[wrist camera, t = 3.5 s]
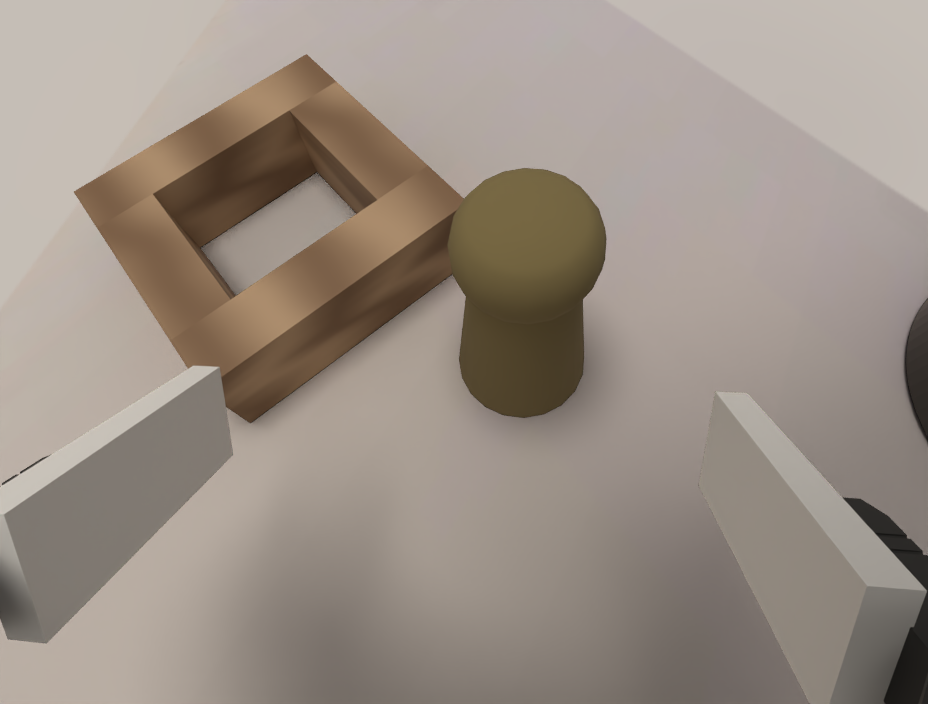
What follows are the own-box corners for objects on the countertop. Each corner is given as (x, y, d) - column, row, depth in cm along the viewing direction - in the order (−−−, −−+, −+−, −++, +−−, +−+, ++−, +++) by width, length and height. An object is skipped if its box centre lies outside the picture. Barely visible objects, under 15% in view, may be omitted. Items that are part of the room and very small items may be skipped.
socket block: (330, 119, 34) (306, 54, 30) (473, 257, 29) (467, 202, 25) (130, 244, 31) (73, 191, 27) (250, 423, 26) (202, 390, 22)
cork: (458, 418, 26) (425, 302, 16) (459, 305, 28) (431, 143, 18) (589, 416, 25) (641, 295, 15) (578, 301, 28) (617, 133, 18)
